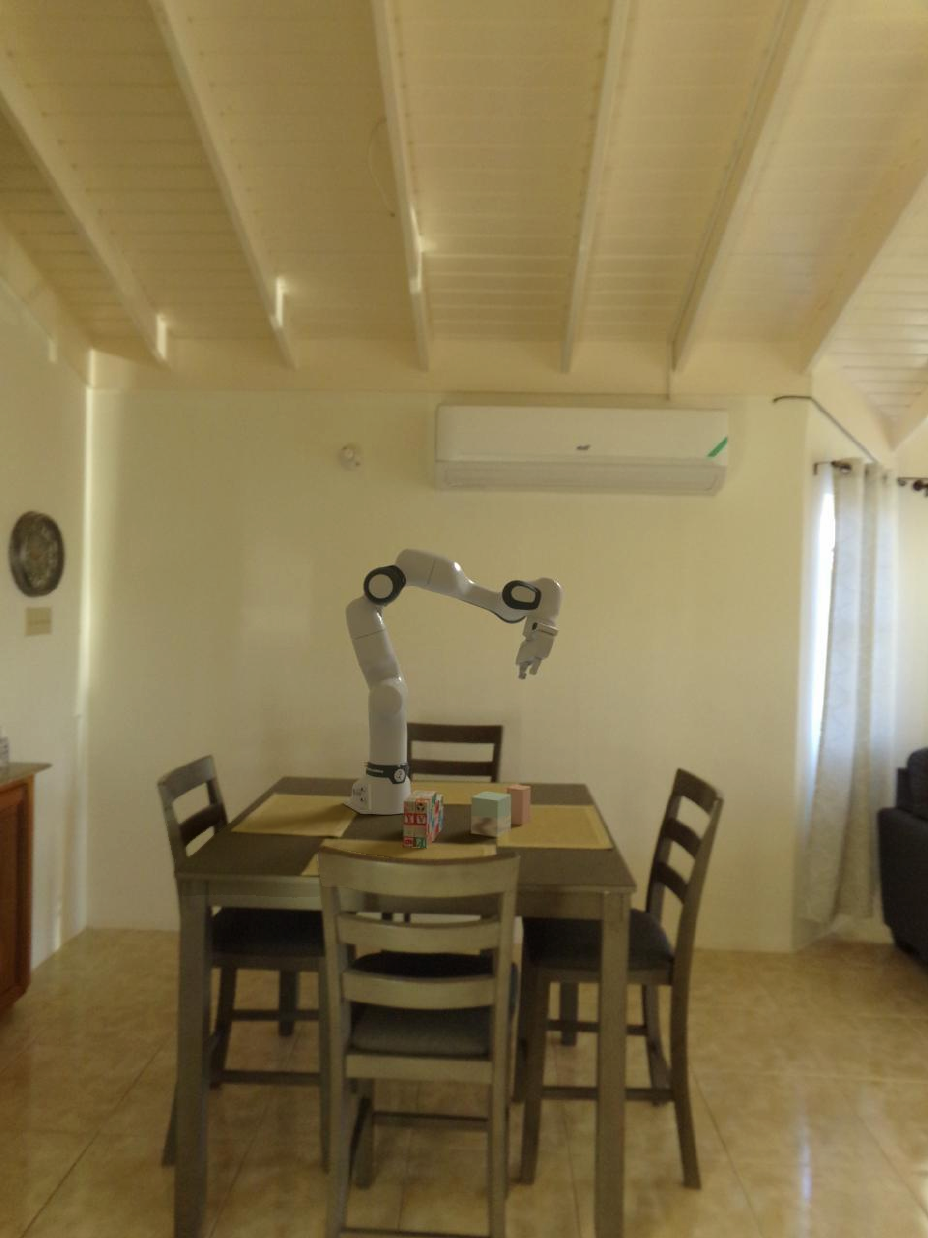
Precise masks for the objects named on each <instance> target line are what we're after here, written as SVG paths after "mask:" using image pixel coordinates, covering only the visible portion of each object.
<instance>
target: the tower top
mask: <svg viewBox="0 0 928 1238" xmlns="http://www.w3.org/2000/svg"><path fill="white" fill-rule="evenodd" d="M470 799H471V800H470V801H471V802H470V804H471V806H470V807H471V808H470V809H471V810H470V816H471V815H473V816H479V817H486V818H493V819H499V818H501V817H503V816H505V815H507V814H510V813H511V795H509V794H507V793H501V792H493V791H486V790H485V791H482V792H481V793H478V794H476V795H475V794H474V795H473V796H471V798H470Z"/></svg>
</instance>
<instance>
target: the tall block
mask: <svg viewBox="0 0 928 1238" xmlns="http://www.w3.org/2000/svg"><path fill="white" fill-rule="evenodd" d="M531 789H532V787H531V786H529V785H521V784H512V785H511V786H507V787H506V794H509V795H511V825H516V826H517V825H518V826H524V825H526V824H528V823H530V822H531V793H532V791H531Z"/></svg>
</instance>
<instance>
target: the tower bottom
mask: <svg viewBox="0 0 928 1238" xmlns="http://www.w3.org/2000/svg"><path fill="white" fill-rule="evenodd" d="M470 816H471V819H470V821H471V822H470V823H471V824H470V833H471V834H474V835H480V836H486V837H487V836H488V837H493V838H499V837H500V836H503V835H505V834H508V833H509V832H511V831H512V824H511V813H510V814H507V815H505V816H503V817H501V818H499V819H493V818H486V817H479V816H473V815H471V814H470ZM510 830H511V831H510ZM508 831H509V832H508Z"/></svg>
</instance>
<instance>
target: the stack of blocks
mask: <svg viewBox="0 0 928 1238" xmlns="http://www.w3.org/2000/svg"><path fill="white" fill-rule="evenodd" d="M402 814H403V815H402V817H403V819H402V821H403V825H402V826H403V832H402V834H403V835H402V847H403V848H406V847H420V848H419V849H421V848H427V849H428V847H429V846H431V844H432V843H433V842H432V841H434V840H435V838H436V837H437V835H438V834H439V833H440V832H441V830H442V829H443V828H444V795H443V794H437V791H436V790H418V789H414V790H413V791H412V792H411V795H410V796H408V797H407V798H406V799H405V800H404V813H402ZM431 842H432V843H431ZM428 845H429V846H428Z"/></svg>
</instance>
